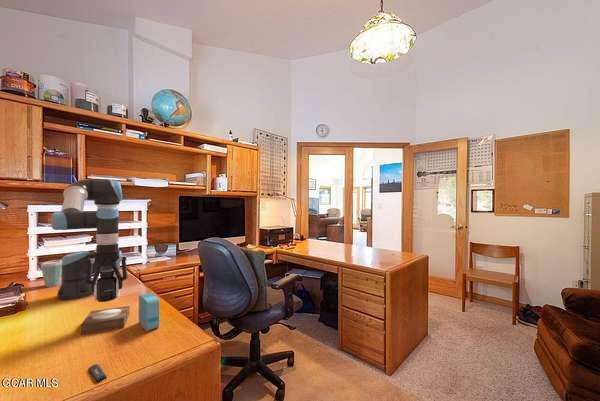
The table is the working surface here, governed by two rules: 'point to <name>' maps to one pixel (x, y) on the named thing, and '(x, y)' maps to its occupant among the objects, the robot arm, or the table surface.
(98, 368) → the usb stick
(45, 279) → the disposable coffee cup
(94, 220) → the robot arm
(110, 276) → the supplement bottle
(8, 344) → the table surface
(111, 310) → the base
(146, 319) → the light-blue rounded block
